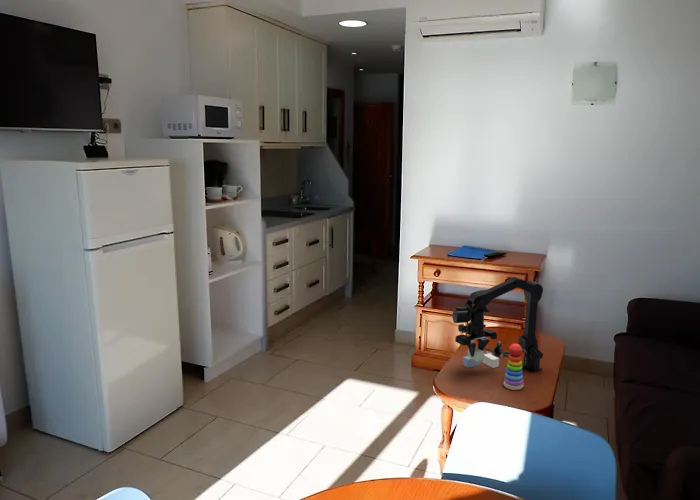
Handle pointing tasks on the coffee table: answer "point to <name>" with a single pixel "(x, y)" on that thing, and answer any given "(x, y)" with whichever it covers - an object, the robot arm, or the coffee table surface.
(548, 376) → the coffee table surface
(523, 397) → the coffee table surface
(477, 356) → the sage brick
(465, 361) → the slate brick
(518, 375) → the stacking toy
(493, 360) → the cream brick
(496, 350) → the stuffed animal
